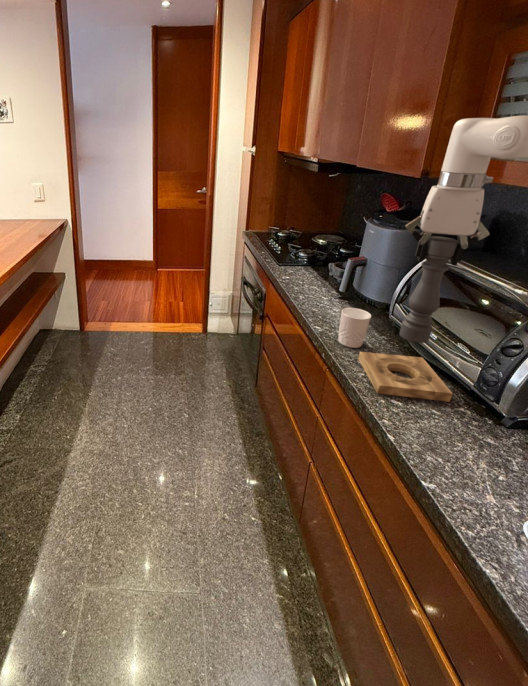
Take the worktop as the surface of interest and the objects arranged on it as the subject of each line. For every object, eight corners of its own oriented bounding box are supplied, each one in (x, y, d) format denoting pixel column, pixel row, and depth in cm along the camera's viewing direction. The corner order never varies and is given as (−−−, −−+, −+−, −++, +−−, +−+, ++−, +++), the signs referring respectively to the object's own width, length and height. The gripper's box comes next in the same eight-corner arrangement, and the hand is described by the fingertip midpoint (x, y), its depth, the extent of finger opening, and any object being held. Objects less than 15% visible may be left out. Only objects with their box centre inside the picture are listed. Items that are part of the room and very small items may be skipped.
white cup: (340, 347, 116) (346, 318, 112) (332, 335, 123) (338, 306, 120) (368, 350, 115) (375, 320, 111) (359, 337, 122) (365, 308, 118)
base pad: (420, 365, 108) (422, 357, 107) (449, 401, 93) (452, 393, 92) (358, 358, 111) (359, 351, 110) (377, 393, 96) (379, 385, 95)
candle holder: (402, 328, 100) (429, 234, 91) (431, 336, 96) (462, 239, 87) (396, 336, 96) (423, 239, 87) (425, 345, 92) (457, 245, 83)
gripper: (506, 181, 82) (478, 262, 88) (410, 177, 89) (391, 252, 96) (518, 185, 75) (487, 272, 82) (414, 181, 83) (394, 261, 89)
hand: (436, 261), depth 89 cm, fingers closed on candle holder, 5 cm apart
